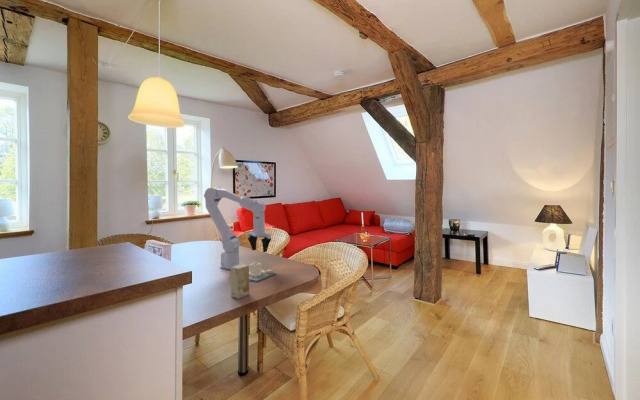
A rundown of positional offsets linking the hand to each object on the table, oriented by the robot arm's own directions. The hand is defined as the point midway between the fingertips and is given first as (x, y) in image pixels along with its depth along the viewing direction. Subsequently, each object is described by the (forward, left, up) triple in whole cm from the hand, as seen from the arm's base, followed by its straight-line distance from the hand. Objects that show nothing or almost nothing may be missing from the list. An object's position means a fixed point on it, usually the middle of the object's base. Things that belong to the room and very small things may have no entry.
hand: (259, 250), depth 160 cm
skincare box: (+18, -32, -10) cm, 38 cm away
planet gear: (+6, -10, -9) cm, 14 cm away
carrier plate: (+6, -10, -9) cm, 15 cm away
